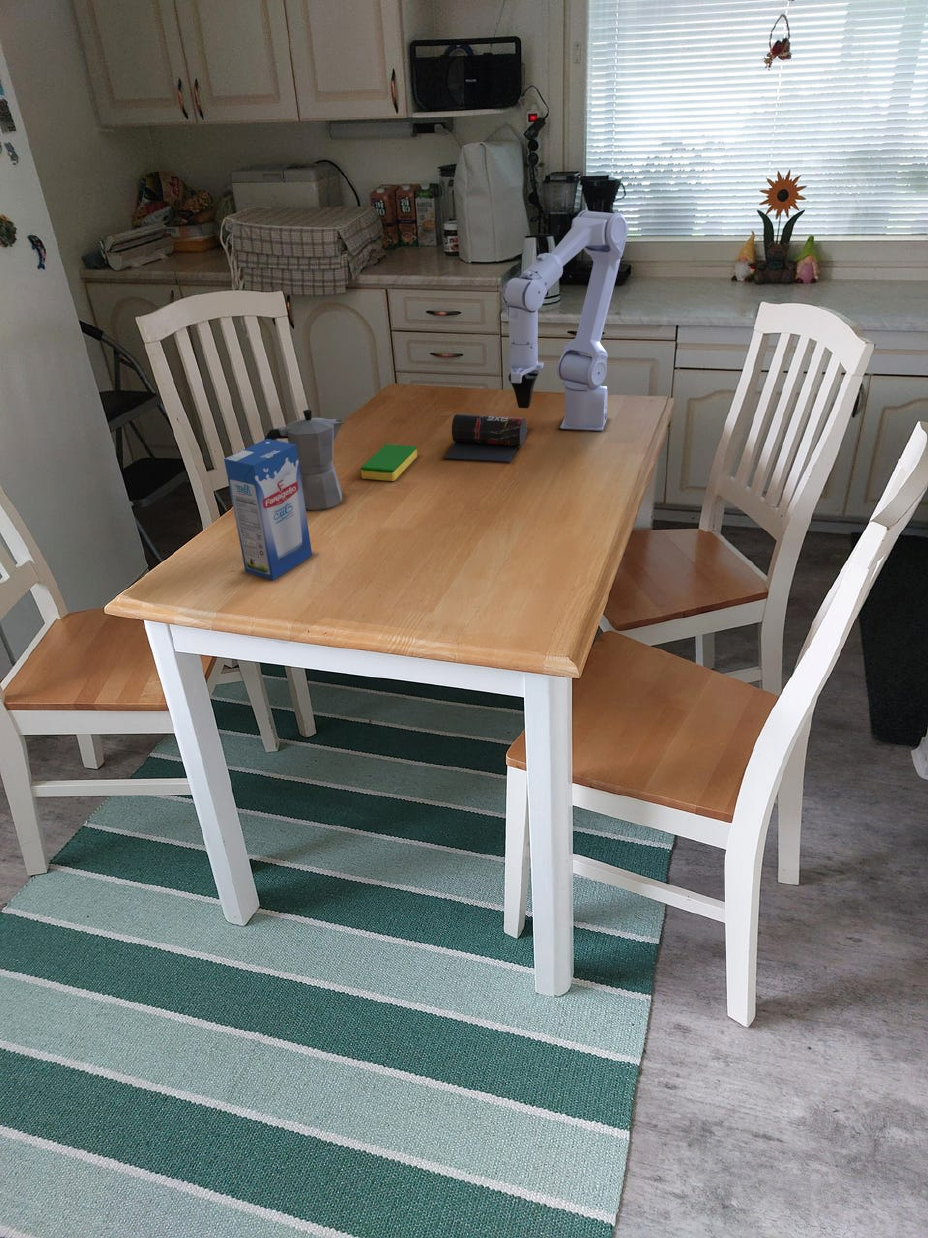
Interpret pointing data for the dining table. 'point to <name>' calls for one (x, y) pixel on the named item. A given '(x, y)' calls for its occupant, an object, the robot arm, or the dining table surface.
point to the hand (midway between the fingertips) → (524, 407)
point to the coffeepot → (314, 458)
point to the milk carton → (269, 507)
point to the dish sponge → (389, 462)
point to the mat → (481, 452)
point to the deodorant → (489, 429)
